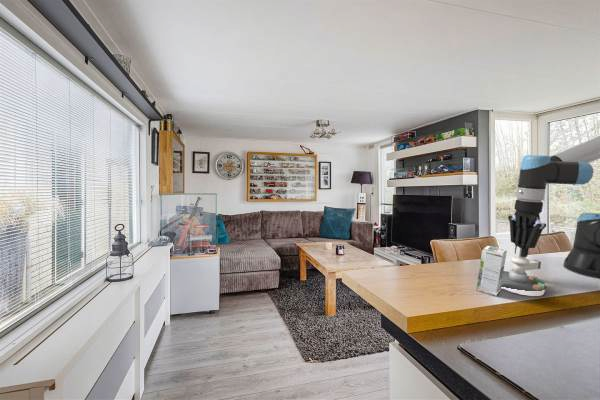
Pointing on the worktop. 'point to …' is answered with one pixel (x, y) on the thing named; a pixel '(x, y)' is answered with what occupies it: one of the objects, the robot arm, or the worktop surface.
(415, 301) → the worktop surface
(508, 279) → the grey shoe
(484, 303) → the worktop surface
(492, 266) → the syrup box
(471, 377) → the worktop surface
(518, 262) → the peg
